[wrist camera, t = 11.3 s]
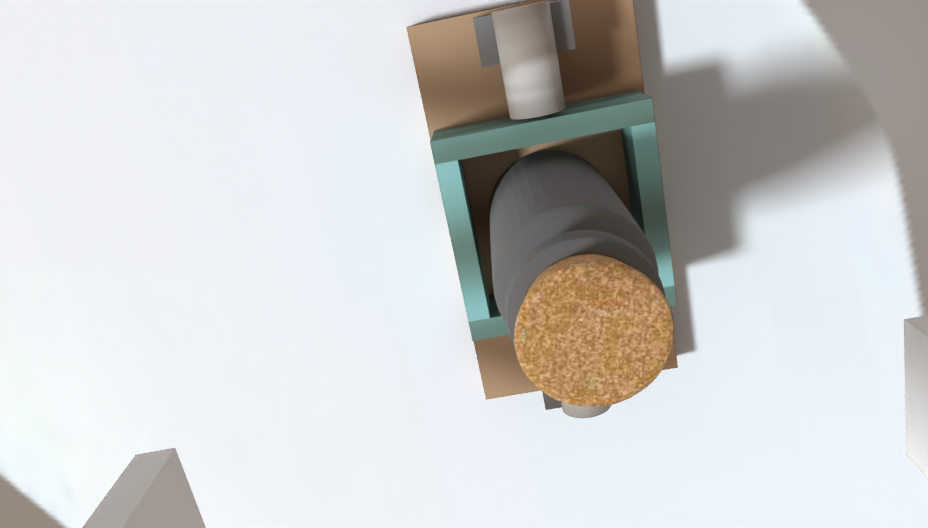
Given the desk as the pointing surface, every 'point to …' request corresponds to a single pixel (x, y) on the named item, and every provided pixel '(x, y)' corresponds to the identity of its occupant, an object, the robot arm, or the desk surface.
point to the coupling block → (535, 137)
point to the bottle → (576, 282)
